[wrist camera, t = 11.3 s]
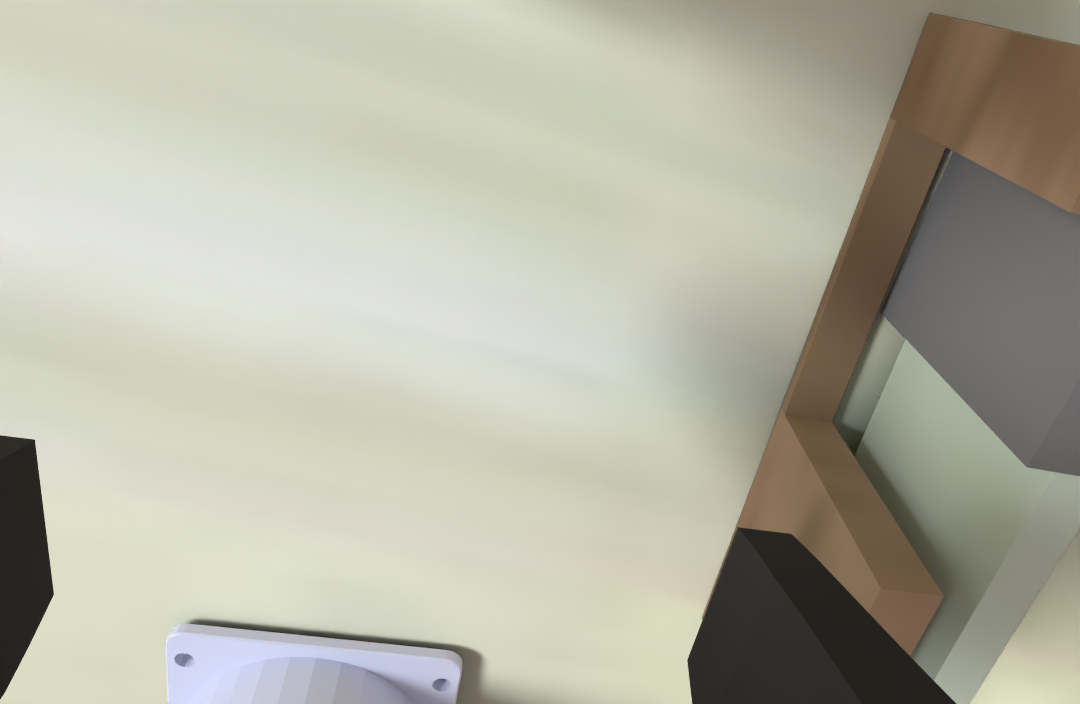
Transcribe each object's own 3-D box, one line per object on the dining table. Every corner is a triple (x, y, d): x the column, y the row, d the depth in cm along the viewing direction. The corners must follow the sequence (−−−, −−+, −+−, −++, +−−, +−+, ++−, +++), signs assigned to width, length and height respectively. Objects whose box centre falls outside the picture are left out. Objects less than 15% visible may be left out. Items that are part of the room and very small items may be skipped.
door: (872, 581, 22) (975, 769, 17) (802, 573, 22) (886, 760, 17) (992, 338, 19) (1163, 486, 14) (911, 325, 18) (1056, 471, 14)
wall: (742, 622, 23) (812, 832, 18) (702, 617, 23) (760, 827, 18) (987, 24, 16) (1230, 79, 10) (929, 13, 16) (1146, 62, 10)
